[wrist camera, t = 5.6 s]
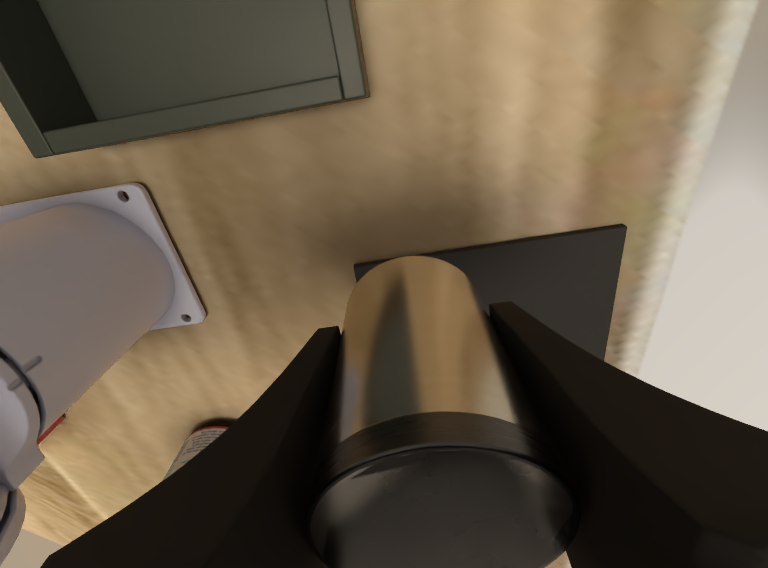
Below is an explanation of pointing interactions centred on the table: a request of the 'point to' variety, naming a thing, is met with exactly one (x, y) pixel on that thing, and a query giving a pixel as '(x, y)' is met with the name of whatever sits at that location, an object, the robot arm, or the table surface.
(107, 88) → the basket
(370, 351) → the spice tin
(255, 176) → the table surface
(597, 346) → the mat
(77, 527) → the table surface
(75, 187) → the table surface
